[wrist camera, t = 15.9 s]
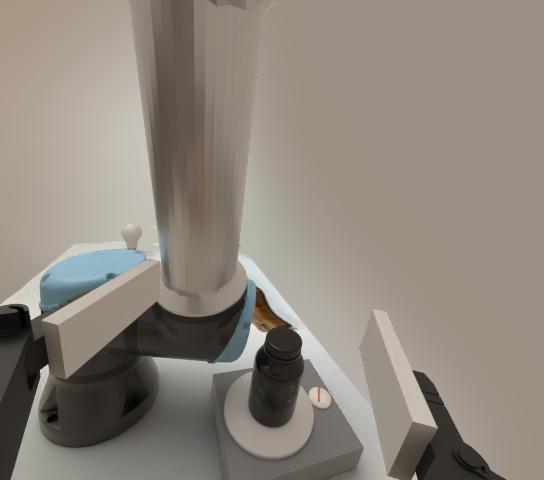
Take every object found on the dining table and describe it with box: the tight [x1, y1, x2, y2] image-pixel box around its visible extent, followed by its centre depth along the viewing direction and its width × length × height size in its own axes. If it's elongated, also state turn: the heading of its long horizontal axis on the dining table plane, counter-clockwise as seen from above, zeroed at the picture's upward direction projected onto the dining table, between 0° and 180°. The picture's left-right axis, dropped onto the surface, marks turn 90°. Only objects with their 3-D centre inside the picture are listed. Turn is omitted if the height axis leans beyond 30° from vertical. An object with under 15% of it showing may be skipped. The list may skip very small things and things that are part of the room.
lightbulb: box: [121, 224, 142, 251], centre depth 88 cm, size 6×6×11 cm
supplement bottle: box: [248, 327, 305, 428], centre depth 35 cm, size 7×7×12 cm
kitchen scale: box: [211, 359, 364, 480], centre depth 39 cm, size 18×16×5 cm
